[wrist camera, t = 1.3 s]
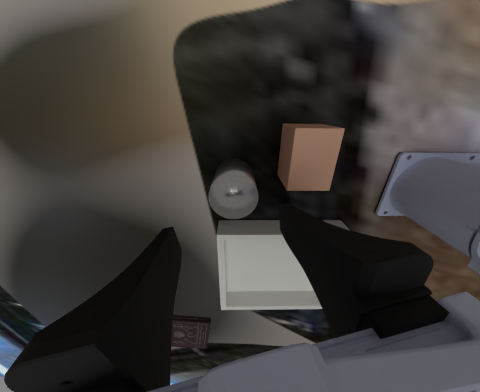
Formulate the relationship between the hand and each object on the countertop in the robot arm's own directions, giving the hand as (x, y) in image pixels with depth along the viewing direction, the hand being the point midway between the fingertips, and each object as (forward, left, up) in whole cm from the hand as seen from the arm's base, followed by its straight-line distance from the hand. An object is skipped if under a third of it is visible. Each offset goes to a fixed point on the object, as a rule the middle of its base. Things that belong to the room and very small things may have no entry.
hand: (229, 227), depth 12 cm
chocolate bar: (+14, +31, -10) cm, 35 cm away
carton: (-7, -3, -10) cm, 13 cm away
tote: (-6, +13, -10) cm, 17 cm away
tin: (0, 0, -10) cm, 10 cm away
